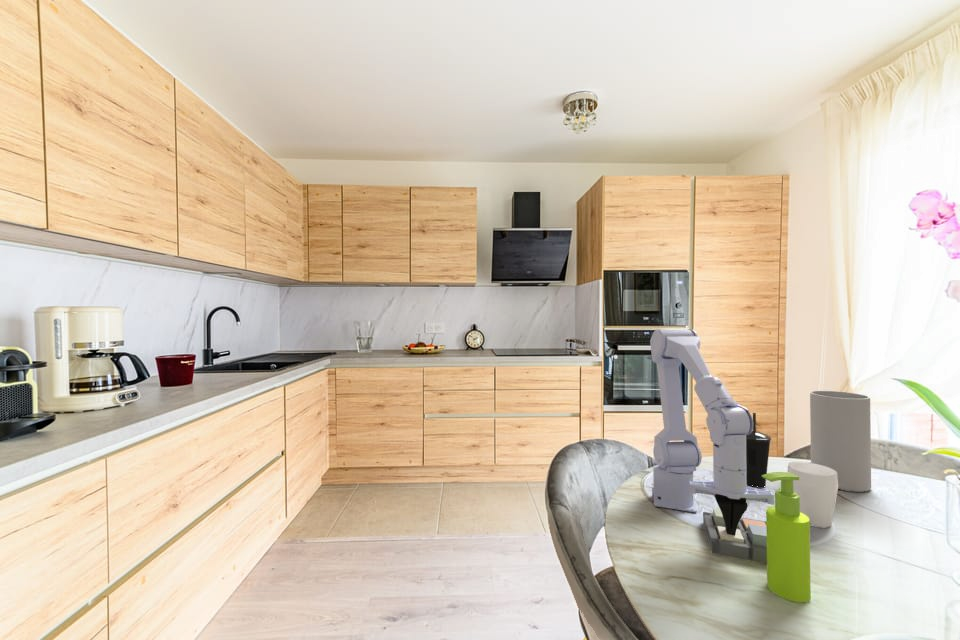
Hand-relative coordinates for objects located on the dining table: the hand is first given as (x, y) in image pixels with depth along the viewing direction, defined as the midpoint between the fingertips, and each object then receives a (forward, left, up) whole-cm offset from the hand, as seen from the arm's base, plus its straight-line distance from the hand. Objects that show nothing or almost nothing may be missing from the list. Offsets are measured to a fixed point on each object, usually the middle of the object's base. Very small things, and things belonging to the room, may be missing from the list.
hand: (730, 532), depth 81 cm
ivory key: (0, 0, -2) cm, 2 cm away
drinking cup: (+12, +39, -3) cm, 41 cm away
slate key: (+6, 0, -1) cm, 6 cm away
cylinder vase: (+34, +48, -3) cm, 59 cm away
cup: (+19, +20, -3) cm, 28 cm away
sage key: (0, +6, -1) cm, 6 cm away
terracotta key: (+6, +5, -2) cm, 8 cm away
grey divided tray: (+3, +3, -3) cm, 5 cm away
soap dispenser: (+6, -11, -3) cm, 13 cm away
